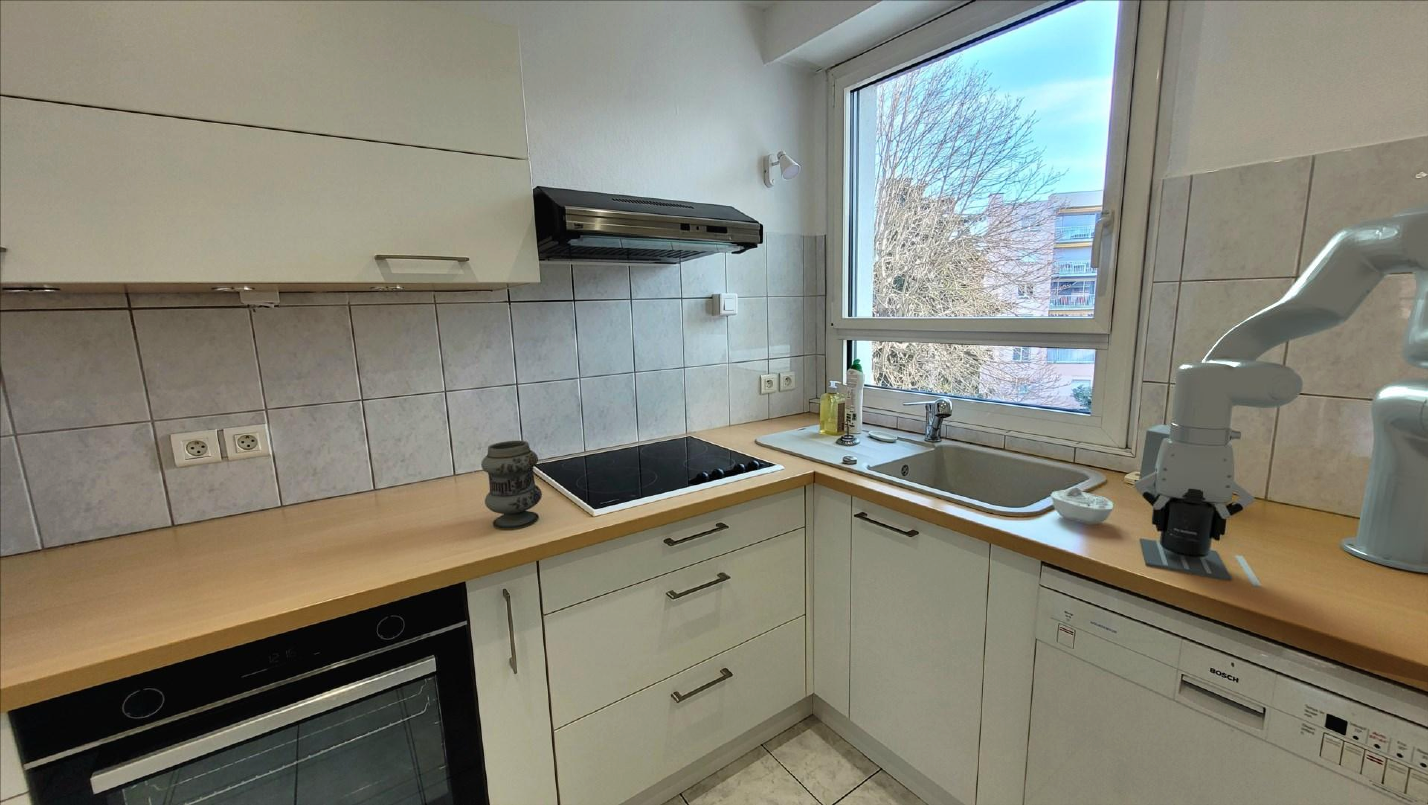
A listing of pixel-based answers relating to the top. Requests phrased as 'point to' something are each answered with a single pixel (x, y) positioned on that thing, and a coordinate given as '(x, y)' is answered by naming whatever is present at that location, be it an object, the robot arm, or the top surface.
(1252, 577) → the strip
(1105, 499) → the cell model
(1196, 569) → the mat
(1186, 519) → the supplement bottle
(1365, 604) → the top surface
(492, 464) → the apothecary jar
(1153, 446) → the skincare box
